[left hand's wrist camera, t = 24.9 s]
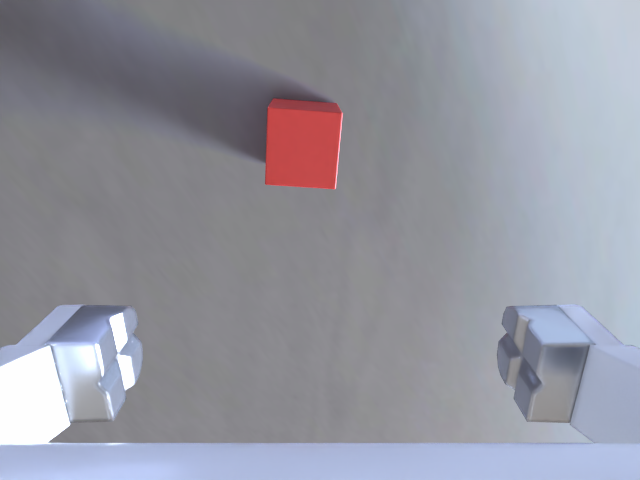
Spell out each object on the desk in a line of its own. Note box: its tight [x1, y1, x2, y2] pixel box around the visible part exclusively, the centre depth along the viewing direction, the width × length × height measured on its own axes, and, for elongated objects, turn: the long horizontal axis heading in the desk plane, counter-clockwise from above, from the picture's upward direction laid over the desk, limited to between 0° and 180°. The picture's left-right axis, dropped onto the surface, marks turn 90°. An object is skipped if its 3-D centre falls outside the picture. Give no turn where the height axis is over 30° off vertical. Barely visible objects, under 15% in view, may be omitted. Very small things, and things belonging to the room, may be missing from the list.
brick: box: [265, 99, 342, 189], centre depth 29 cm, size 4×4×5 cm
